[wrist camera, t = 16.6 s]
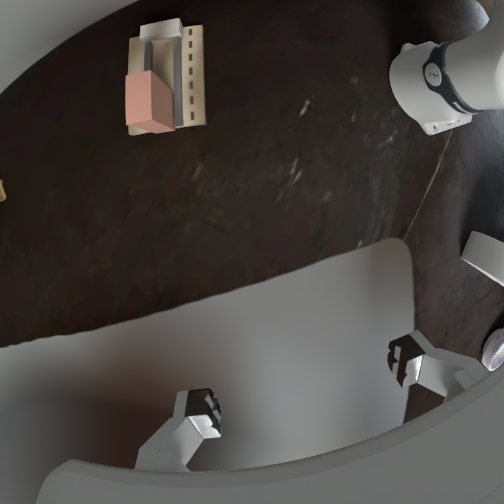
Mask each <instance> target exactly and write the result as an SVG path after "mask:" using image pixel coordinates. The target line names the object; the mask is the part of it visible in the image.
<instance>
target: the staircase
mask: <svg viewBox="0 0 504 504" xmlns="http://www.w3.org/2000/svg"><path fill="white" fill-rule="evenodd" d="M2 182H3V181H2V179H0V202H1V201H3V200H5V198H6V194H5V191H4V188H3V184H2Z"/></svg>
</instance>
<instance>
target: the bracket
mask: <svg viewBox="0 0 504 504" xmlns="http://www.w3.org/2000/svg"><path fill="white" fill-rule="evenodd" d="M461 258H462V259H463V260H465V261H466V262H468V263H469V264H471V265H472V266H474V267H475V268H477V269H478V270H480V271H481V272H483V273H484V274H486V275H487V276H488V277H490V278H491V279H493V280H495V281H497V282H498V283H500V284H501V285H502V286H504V243H503V242H501V241H499V240H497V239H495V238H492V237H490V236H488V235H485V234H482V233H479V232H475V231H471V233H470V236H469V239H468V241H467V243H466V246H465V248H464V251H463V253H462V255H461Z"/></svg>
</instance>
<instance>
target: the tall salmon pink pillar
mask: <svg viewBox="0 0 504 504" xmlns="http://www.w3.org/2000/svg"><path fill="white" fill-rule="evenodd" d="M126 125H129V126H133V127H136V128H140V129H143V130H146V131H150V132H153V133H162V132H168V131H175V117H174V93H173V92H172V91H171V90H170V89H169V88H168V87H167V86H166V85H165V84H164V83H163V82H162V81H161V80H160V79H159V78H158V77H157V76H156V75H155V74H154V73H153V72H152V71H151V70H149V71H144V72H140V73H135V74H131V75H127V76H126Z"/></svg>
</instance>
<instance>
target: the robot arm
mask: <svg viewBox="0 0 504 504" xmlns="http://www.w3.org/2000/svg"><path fill="white" fill-rule="evenodd" d="M389 77H390V84H391V88H392V91H393V93H394V96H395V98H396V100H397V101H398V103H399V104H400V106H401V107H402V108H403V110H404V111H405V112H406V113H407V114H408V115H409V116H410V117H412V118H413V119H415V120H416V121H417V122H418V123H419V124H420V125H421V127H422V128H423V130H424V131H425V132H426V133H427V134H428V135H433V134H436V133H439V132H442V131H445V130H448V129H451V128H454V127H457V126H460V125H463V124H466V123H469V122H471V119H472V115H473V114H476V113H480V112H483V111H484V110H488V109H504V0H493V10H492V14H491V17H490V20H489V22H488V23H487V25H486V26H485V27H484V28H483V29H482V30H480V31H479V32H477V33H475V34H473V35H471V36H469V37H467V38H465V39H462V40H460V41H457V42H456V41H449V42H444V43H441V44H439V45H438V44H435V43H433V42H426V43H423V44H420V45H417V46H415V45H413V44H410V43H406V44H403V46H402V48H401V53H400V54H399V55H398V56H397V57H396V58H395V59H394V60H393V62H392V64H391V66H390V72H389ZM433 126H434V127H433ZM388 348H389V350H390V352H389V354H388V356H387V362H388V366H389V369H390V370H391V372H392V373H394V374H396V375H397V377H396V380H397V381H398V383H399V384H400V386H401V388H405V387H407V386H409V385H412V384H414V383H416V382H417V383H419V384H421V385H423V386H425V387H427V388H429V389H431V390H433V391H435V392H437V393H438V394H440V395H442V396H444V397H446V398H445V400H444V402H443V404H442V405H440V406H439V407H437V408H435V409H433V410H431V411H429V412H428V413H426V414H424V415H422V416H420V417H418V418H416V419H414V420H412V421H410V422H407V423H405V424H403V425H401V426H399V427H396V428H394V429H392V430H390V431H387V432H385V433H382V434H380V435H378V436H375V437H372V438H370V439H367V440H364V441H361V442H359V443H356V444H353V445H350V446H347V447H343V448H340V449H337V450H334V451H330V452H327V453H323V454H320V455H316V456H312V457H308V458H304V459H299V460H294V461H290V462H285V463H279V464H274V465H268V466H261V467H255V468H246V469H238V470H226V471H210V472H191V471H190V470H189V469H188V468H187V467H186V466H185V465H186V464H187V462H188V461H189V460H190V458H191V457H192V455H193V454H194V452H195V451H196V450H197V448H198V447H199V445H200V444H201V442H202V441H203V439H204V438H214V437H220V436H221V424H220V423H219V420H220V419H221V407H220V404H219V402H218V400H217V399H216V398H214V392H213V390H212V389H211V388H207V389H197V390H189V391H179V392H178V394H177V398H176V404H175V409H174V414H173V418H170V419H169V420H168V421H167V422H166V423H165V424H164V425H163V426H162V427H161V428H160V429H159V430H158V431H157V432H156V433H155V434H154V435H153V436H152V437H151V438H150V439H149V440H148V441H147V442H146V443H145V444H144V445H143V446H142V447H141V448H140V449H139V453H138V458H137V462H136V466H135V470H134V469H125V468H118V467H111V466H105V465H99V464H94V463H88V462H84V461H80V460H74V459H72V460H69V461H67V462H65V463H64V464H62V465H61V466H59V467H58V468H56V469H55V470H54V471H52V472H51V473H50V474H49V475H48V476H47V478H46V480H45V482H44V483H43V486H42V488H41V490H40V493H39V495H38V498H37V500H36V503H35V504H504V363H503V364H501V365H500V366H499V367H498V368H496V369H495V370H494V371H492V372H491V373H489V372H488V371H487V370H486V369H485V368H484V367H483V366H482V365H481V364H480V362H479V361H478V360H477V359H474V358H470V357H467V356H463V355H460V354H456V353H453V352H450V351H446V350H443V349H440V348H437V349H435V348H434V347H433V346H432V345H431V344H430V343H429V341H428V340H427V339H426V338H425V337H424V336H423V335H422V334H421V333H420V332H419V331H418V330H416V331H414V332H411V333H409V334H407V335H404V336H402V337H400V338H397V339H395V340H392V341H390V342H389V345H388Z"/></svg>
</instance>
